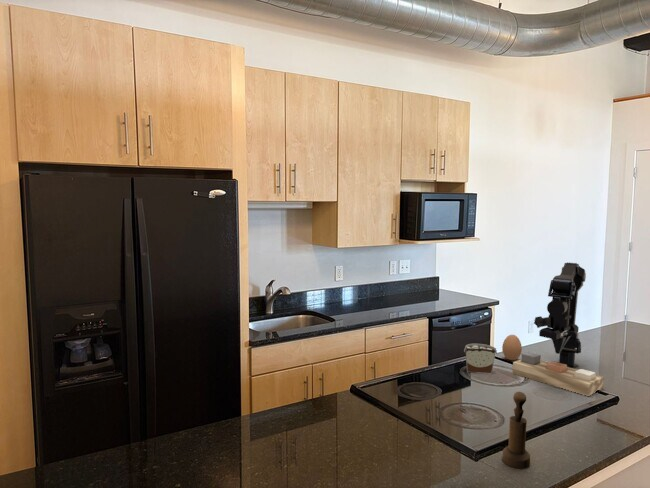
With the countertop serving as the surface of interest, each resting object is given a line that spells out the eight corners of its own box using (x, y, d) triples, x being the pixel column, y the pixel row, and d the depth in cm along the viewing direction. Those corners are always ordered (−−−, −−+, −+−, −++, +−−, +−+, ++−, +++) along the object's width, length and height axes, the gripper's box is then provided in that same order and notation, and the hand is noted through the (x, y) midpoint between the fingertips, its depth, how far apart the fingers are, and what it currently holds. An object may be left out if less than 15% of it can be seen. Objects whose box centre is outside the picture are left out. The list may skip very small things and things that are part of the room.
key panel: (528, 367, 195) (528, 356, 195) (602, 389, 174) (603, 376, 173) (512, 373, 188) (513, 362, 187) (588, 397, 166) (589, 384, 166)
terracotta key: (552, 368, 184) (553, 361, 184) (566, 372, 180) (566, 364, 180) (546, 371, 181) (547, 363, 181) (560, 375, 177) (560, 367, 177)
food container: (492, 368, 193) (493, 344, 192) (495, 374, 187) (497, 348, 186) (460, 366, 194) (461, 342, 193) (463, 372, 188) (464, 346, 187)
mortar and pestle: (497, 455, 126) (501, 387, 124) (521, 454, 126) (526, 387, 125) (509, 469, 119) (513, 397, 118) (534, 468, 120) (539, 397, 118)
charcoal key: (527, 359, 192) (528, 351, 191) (540, 362, 188) (540, 354, 187) (521, 361, 188) (521, 353, 188) (533, 365, 185) (534, 357, 184)
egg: (522, 359, 205) (524, 334, 204) (518, 364, 199) (520, 338, 198) (503, 356, 209) (505, 331, 208) (499, 360, 203) (501, 335, 202)
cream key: (580, 376, 176) (580, 368, 176) (595, 380, 172) (595, 372, 172) (574, 379, 173) (574, 371, 173) (588, 383, 169) (589, 375, 169)
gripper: (550, 305, 191) (548, 344, 192) (526, 310, 179) (524, 352, 180) (580, 310, 182) (577, 351, 183) (557, 316, 170) (554, 360, 171)
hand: (557, 353), depth 180 cm, fingers closed
